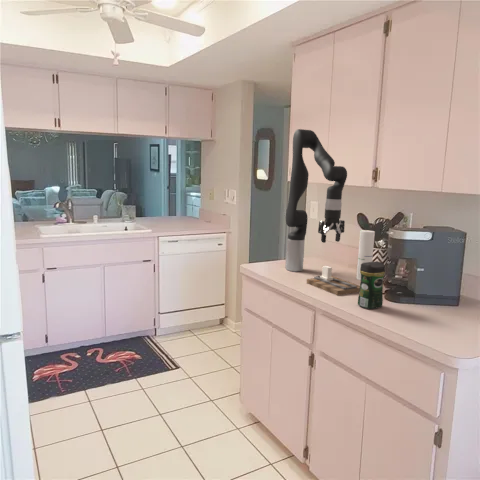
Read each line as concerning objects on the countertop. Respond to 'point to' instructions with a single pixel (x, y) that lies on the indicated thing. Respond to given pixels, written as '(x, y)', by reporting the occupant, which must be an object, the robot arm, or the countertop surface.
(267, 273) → the countertop surface
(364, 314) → the countertop surface
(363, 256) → the cylindrical container
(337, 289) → the wooden board
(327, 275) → the fader
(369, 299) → the coffee jar
